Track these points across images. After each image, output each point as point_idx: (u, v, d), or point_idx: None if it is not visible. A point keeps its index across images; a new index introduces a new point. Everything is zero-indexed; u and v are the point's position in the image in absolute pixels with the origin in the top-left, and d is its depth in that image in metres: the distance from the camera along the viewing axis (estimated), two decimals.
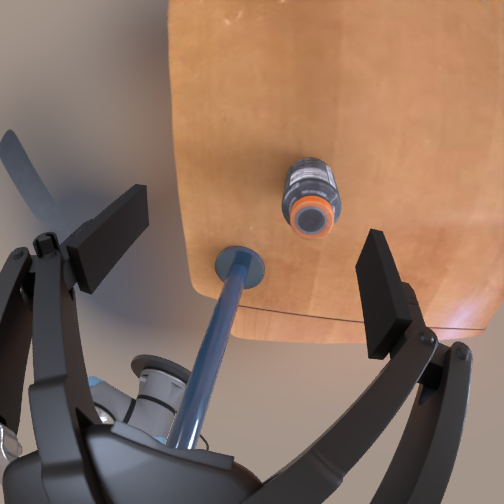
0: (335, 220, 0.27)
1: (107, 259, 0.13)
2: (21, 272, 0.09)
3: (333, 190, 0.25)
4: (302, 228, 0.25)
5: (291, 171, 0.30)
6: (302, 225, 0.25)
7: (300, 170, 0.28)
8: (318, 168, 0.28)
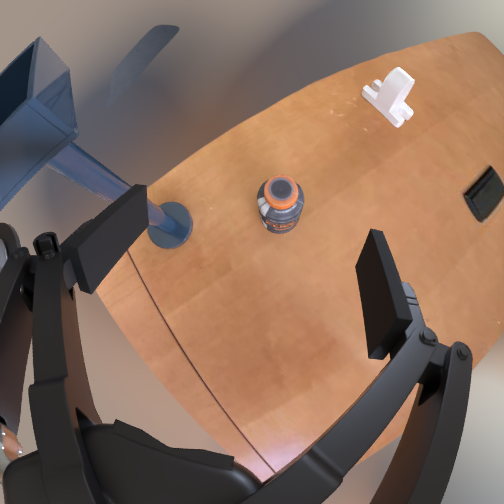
0: (287, 215, 0.34)
1: (107, 259, 0.13)
2: (21, 272, 0.09)
3: (303, 199, 0.34)
4: (271, 188, 0.32)
5: None
6: (273, 186, 0.32)
7: None
8: None
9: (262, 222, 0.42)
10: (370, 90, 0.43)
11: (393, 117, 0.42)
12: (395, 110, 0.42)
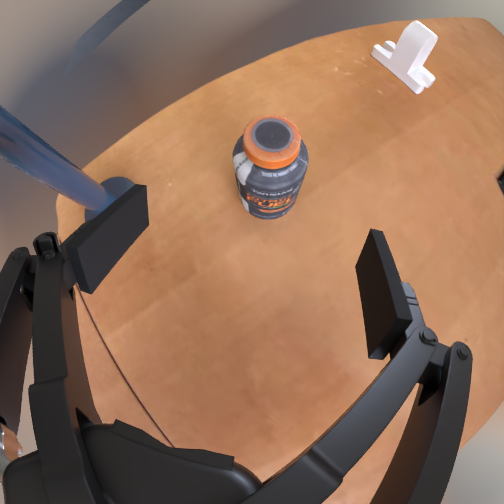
0: (282, 181, 0.20)
1: (107, 259, 0.13)
2: (21, 272, 0.09)
3: (307, 158, 0.21)
4: (256, 132, 0.18)
5: None
6: (259, 130, 0.18)
7: None
8: None
9: (242, 202, 0.28)
10: (382, 50, 0.31)
11: (413, 80, 0.30)
12: (414, 73, 0.30)
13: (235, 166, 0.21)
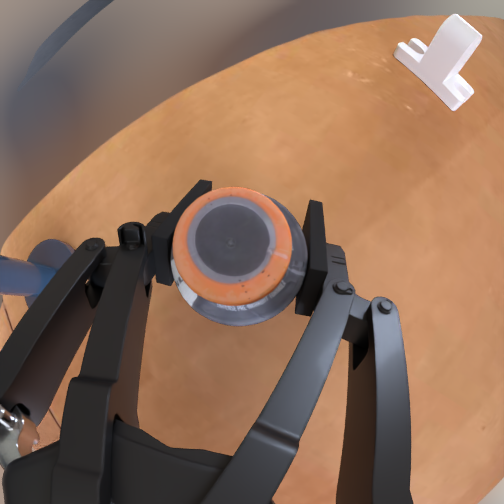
0: (255, 316, 0.11)
1: None
2: (90, 266, 0.10)
3: (306, 261, 0.12)
4: (197, 235, 0.09)
5: None
6: (204, 228, 0.09)
7: None
8: None
9: None
10: (409, 50, 0.22)
11: (449, 93, 0.21)
12: (450, 83, 0.21)
13: (174, 278, 0.12)
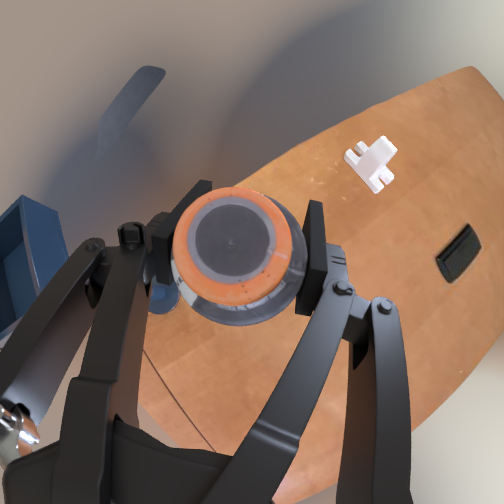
0: (255, 316, 0.11)
1: None
2: (90, 266, 0.10)
3: (306, 261, 0.12)
4: (197, 235, 0.09)
5: None
6: (204, 228, 0.09)
7: None
8: None
9: None
10: (352, 155, 0.49)
11: (372, 184, 0.48)
12: (375, 177, 0.48)
13: (174, 278, 0.12)
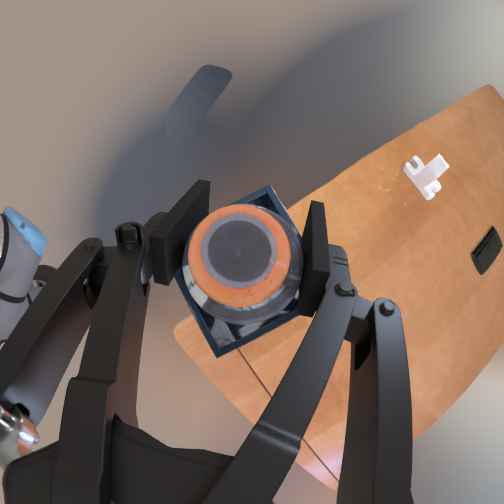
0: (258, 315, 0.13)
1: (181, 251, 0.14)
2: (88, 266, 0.10)
3: (302, 268, 0.13)
4: (210, 247, 0.11)
5: None
6: (216, 241, 0.11)
7: None
8: None
9: None
10: (410, 167, 0.54)
11: (426, 193, 0.54)
12: (428, 186, 0.53)
13: (186, 282, 0.13)
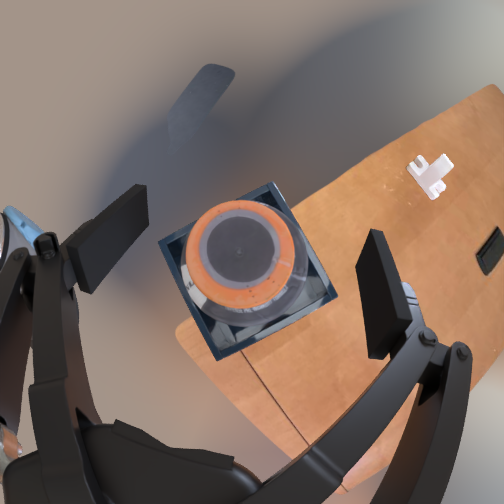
0: (260, 317, 0.12)
1: (107, 259, 0.13)
2: (21, 272, 0.09)
3: (307, 267, 0.12)
4: (209, 245, 0.10)
5: None
6: (215, 239, 0.10)
7: None
8: None
9: None
10: (415, 167, 0.53)
11: (431, 193, 0.52)
12: (432, 186, 0.52)
13: (184, 282, 0.13)
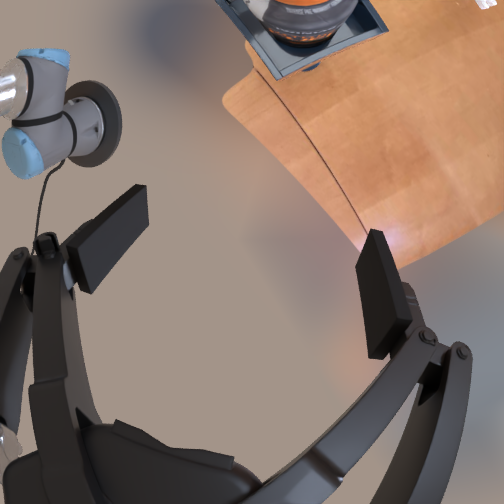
0: (320, 20, 0.09)
1: (107, 259, 0.13)
2: (21, 272, 0.09)
3: None
4: None
5: None
6: None
7: None
8: None
9: None
10: None
11: (480, 2, 0.20)
12: None
13: None
